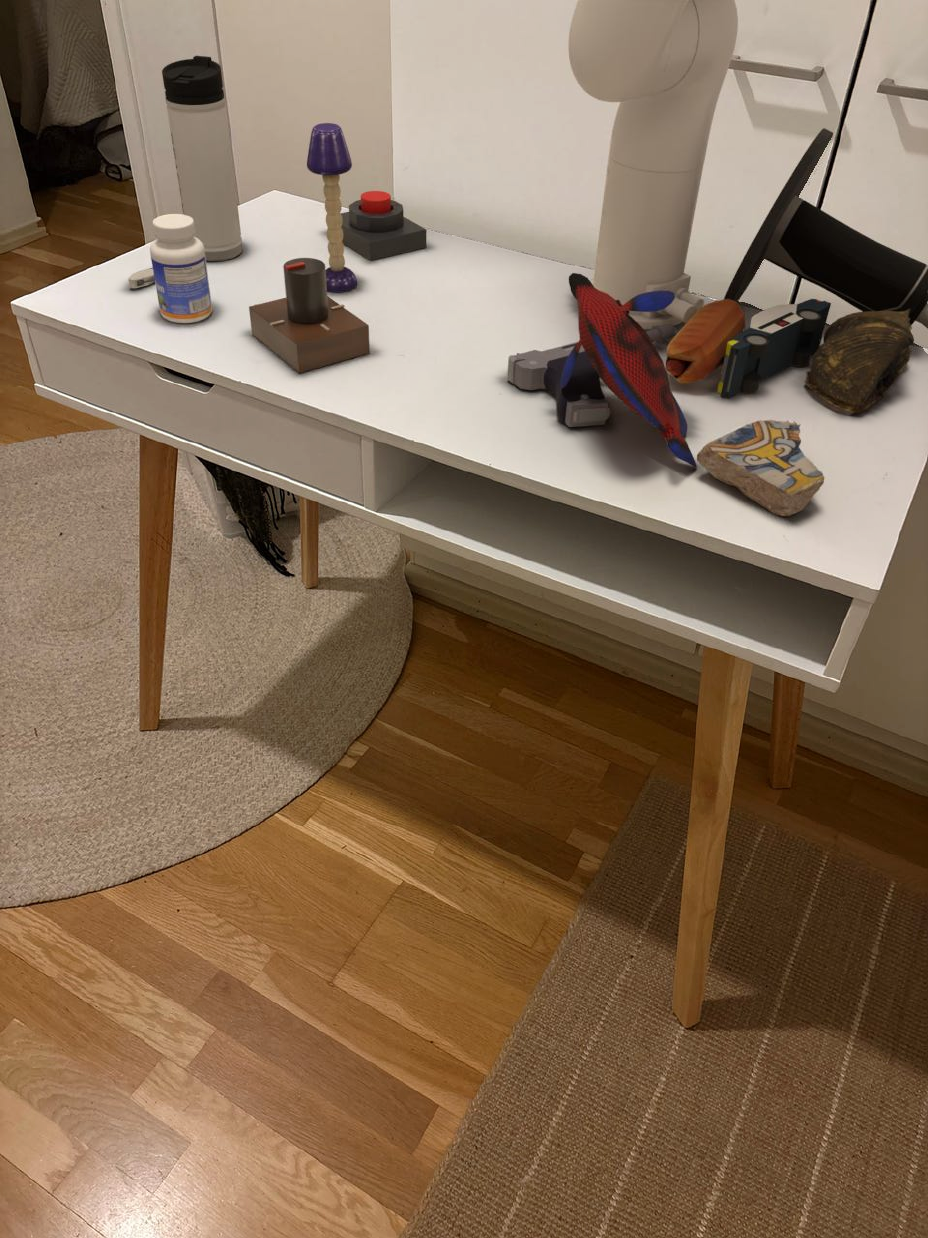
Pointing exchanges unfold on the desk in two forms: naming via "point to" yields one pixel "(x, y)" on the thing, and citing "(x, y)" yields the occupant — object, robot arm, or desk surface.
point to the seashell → (860, 358)
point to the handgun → (583, 390)
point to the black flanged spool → (832, 252)
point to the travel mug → (203, 154)
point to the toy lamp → (332, 197)
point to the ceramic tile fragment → (765, 465)
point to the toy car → (772, 345)
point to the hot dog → (704, 341)
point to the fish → (628, 358)
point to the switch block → (381, 232)
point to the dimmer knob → (306, 290)
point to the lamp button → (375, 202)
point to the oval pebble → (141, 278)
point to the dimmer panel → (310, 335)
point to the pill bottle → (180, 270)
